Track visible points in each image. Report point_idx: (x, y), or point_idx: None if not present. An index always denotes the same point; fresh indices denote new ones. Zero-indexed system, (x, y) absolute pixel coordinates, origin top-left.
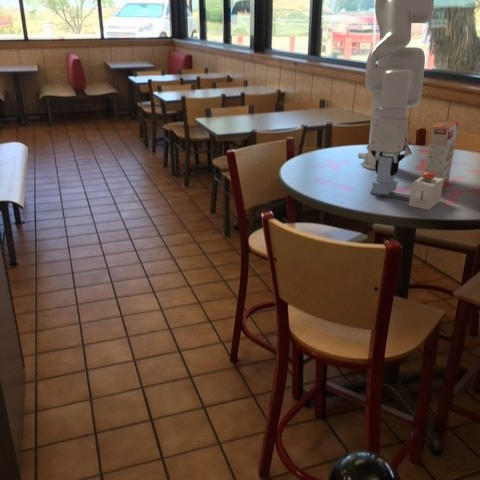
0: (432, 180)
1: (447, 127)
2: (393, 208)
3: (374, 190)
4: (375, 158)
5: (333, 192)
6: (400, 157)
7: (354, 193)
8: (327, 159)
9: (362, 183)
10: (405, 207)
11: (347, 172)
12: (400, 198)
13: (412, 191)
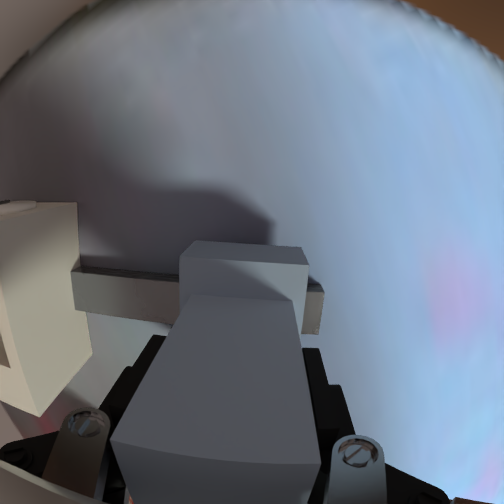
0: None
1: None
2: (120, 110)
3: (285, 248)
4: (369, 451)
5: (485, 202)
6: (28, 452)
7: (400, 245)
8: (496, 498)
9: (397, 411)
10: (80, 165)
11: (456, 468)
12: (138, 273)
13: (21, 213)
